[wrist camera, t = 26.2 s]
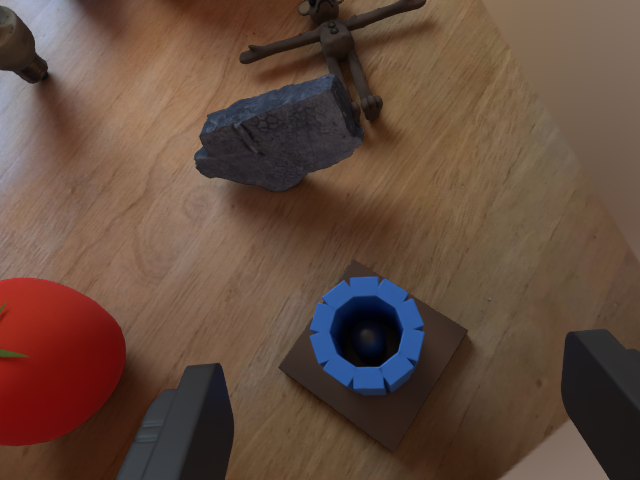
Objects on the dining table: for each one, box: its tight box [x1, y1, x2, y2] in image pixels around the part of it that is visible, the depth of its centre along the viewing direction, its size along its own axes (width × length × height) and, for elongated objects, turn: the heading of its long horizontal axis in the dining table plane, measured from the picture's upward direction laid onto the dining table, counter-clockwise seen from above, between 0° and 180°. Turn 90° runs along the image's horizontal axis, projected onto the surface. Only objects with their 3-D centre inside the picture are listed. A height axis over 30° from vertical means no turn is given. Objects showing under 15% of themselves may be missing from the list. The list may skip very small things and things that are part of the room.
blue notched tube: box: [310, 277, 425, 396], centre depth 32 cm, size 6×7×8 cm
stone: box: [194, 73, 364, 192], centre depth 39 cm, size 14×6×10 cm, turn 106°
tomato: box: [0, 278, 126, 446], centre depth 34 cm, size 11×11×13 cm
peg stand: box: [278, 259, 468, 452], centre depth 34 cm, size 10×10×8 cm
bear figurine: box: [239, 0, 426, 123], centre depth 45 cm, size 18×4×14 cm
